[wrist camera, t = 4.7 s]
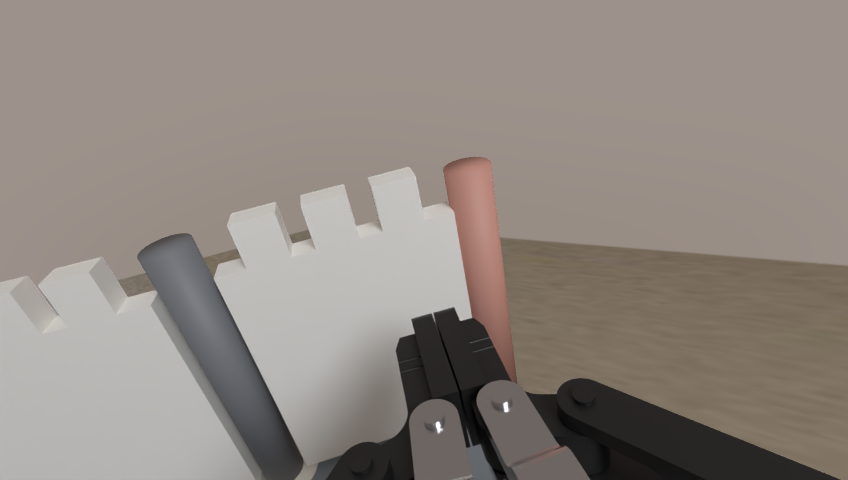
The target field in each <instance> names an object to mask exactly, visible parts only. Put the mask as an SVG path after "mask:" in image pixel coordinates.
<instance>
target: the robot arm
mask: <svg viewBox="0 0 848 480" xmlns="http://www.w3.org/2000/svg"><path fill="white" fill-rule="evenodd" d="M433 315H434V318H433ZM433 315H432V313H430V314H426V315H423V316H419V317H415V318H412V319H411V321H412V325H413V328H414V332H415V334H412V335H408V336H405V337H401V338H399V341H398V344H397V347H396V355H397V360H398V365H399V370H400V375H401V380H402V385H403V390H404V395H405V400H406V405H407V411H408V415H407V420H406V423H405V425H404V426H403V428H402V429H401V431H400V432H399V433H398V434H397V435H396V436H394V437H393V438H392V439H390V440H388V441H387V442H385V443H384V444H382V445H380V444H377V443H374V442H362V443H359V444H356V445H354V446H352V447H351V448H349V449H348V450H347V451H346V452H345V453H344V454H343V455H342V456H341V458H340V459H339V461H338V462H337V464H336V465H335V467H334V468H333V470H332V471H331V473H330V474H329V475H328V477H327V478H326V480H474V479H473V475H472V471H471V466H470V462H469V457H468V453H467V449H466V448H469V447H471V446H470V442H469V437H468V433H469V436H470V439H471V442H472V445H473V446H476V445H479V444H481V447H482V450H483V453H484V456H485V458H486V460H487V462H488V464H489V468H490V471H491V473H492V475H493V478H494V480H840V479H837V478H835V477H832V476H830V475H827V474H825V473H822V472H820V471H817V470H815V469H813V468H810V467H808V466H805V465H803V464H800V463H798V462H795V461H793V460H790V459H788V458H785V457H783V456H780V455H778V454H775V453H773V452H770V451H768V450H765V449H763V448H760V447H758V446H755V445H753V444H750V443H748V442H745V441H743V440H740V439H738V438H735V437H733V436H730V435H728V434H725V433H723V432H720V431H718V430H715V429H713V428H710V427H708V426H705V425H703V424H700V423H698V422H695V421H693V420H690V419H688V418H685V417H683V416H680V415H678V414H675V413H673V412H670V411H668V410H665V409H663V408H660V407H658V406H655V405H653V404H650V403H648V402H645V401H643V400H641V399H638V398H636V397H633V396H631V395H628V394H626V393H623V392H621V391H618V390H616V389H613V388H611V387H608V386H606V385H603V384H601V383H598V382H596V381H593V380H590V379H583V378H578V379H572V380H569V381H567V382H565V383H564V384H562V385H561V386H560V388H559V389H558V391H557V394H532V393H528V392H525V391H524V390H523V389H522V387H520V386H519V385H518V384H516V383H514V382H512V381H511V379H510V377H509V375H508V373H507V371H506V369H505V367H504V365H503V363H502V361H501V359H500V357H499V355H498V353H497V351H496V349H495V347H494V345H493V343H492V341H491V339H490V337H489V335H488V333H487V331H486V329H485V327H484V325H483V324H481V323H480V322H479V321H477V320H476V319H475V318H470V319H466V320H462V321H460V320H459V317H458V315H457V313H456V310H455V308H454V307H452V308H448V309H445V310H441V311H438V312H434V313H433ZM434 320H435V321H434ZM466 427H467V428H466ZM467 430H468V432H467Z"/></svg>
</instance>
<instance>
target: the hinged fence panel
mask: <svg viewBox="0 0 848 480" xmlns="http://www.w3.org/2000/svg"><path fill="white" fill-rule="evenodd" d="M443 172H444V177H445V183H446V189H447V195H448V200H449V204H448V203H447V202H443V203H439V204H435V205H432V206H428V207H424V208H422V205H421V200H420V196H419V191H418V186H417V181H416V176H415V174H414V173H413V172H412V170H411V169H410V167H407V168H402V169H398V170H395V171H391V172H387V173H383V174H380V175H376V176H372V177H368V181H369V185H370V189H371V193H372V197H373V200H374V204H375V208H376V212H377V216H378V219H379V220H377V221H374V222H370V223H366V224H363V225H359V226H356V223H355V220H354V217H353V213H352V210H351V206H350V203H349V200H348V196H347V193H346V190H345V186H344V184H341V185H338V186H334V187H330V188H326V189H322V190H319V191H315V192H311V193H307V194H304V195H301V209H302V212H303V214H304V217H305V220H306V223H307V226H308V229H309V231H310V234H311V237H312V239H308V240H305V241H301V242H297V243H294V244H292V242H291V239H290V237H289V234H288V231H287V229H286V226H285V223H284V221H283V218H282V215H281V213H280V210H279V208H278V205H277V202H273V203H269V204H265V205H261V206H258V207H254V208H250V209H246V210H242V211H239V212H235V213H231V216H230V219H229V221H228V224H227V227H228V229H229V231H230V233H231V235H232V238H233V240H234V242H235V245H236V247H237V249H238V251H239V253H240V256H241V258H239V259H236V260H232V261H228V262H225V263H221V264H219V265H218V268H217V271H216V274H215V277H214V280H215V282H216V284H217V286H218V288H219V290H220V292H221V294H222V296H223V298H224V300H225V302H226V304H227V306H228V308H229V310H230V312H231V314H232V316H233V318H234V320H235V322H236V324H237V326H238V328H239V330H240V332H241V334H242V336H243V338H244V340H245V342H246V344H247V346H248V348H249V351H250V353H251V355H252V357H253V359H254V361H255V363H256V365H257V367H258V369H259V371H260V373H261V375H262V377H263V379H264V381H265V383H266V385H267V387H268V389H269V391H270V393H271V395H272V397H273V399H274V401H275V403H276V405H277V407H278V409H279V411H280V413H281V415H282V417H283V419H284V421H285V423H286V425H287V427H288V429H289V431H290V433H291V435H292V437H293V439H294V441H295V443H296V445H297V447H298V449H299V451H300V453H301V455H302V457H303V459H304V461H305V463H306V465H307V466H310V465H313V464H316V463H319V462H322V461H325V460H328V459H331V458H334V457H337V456H340V455H343V454H344V453H345V452H346V451H347V450H348V449H349V448H351V447H352V446H354V445H356V444H359V443H362V442H374V443H379V442H382V441H385V440H388V439H391V438H393V437H394V436H396V435H397V434H398V433H399V432H400V431H401V429H402V428H403V426H404V425H405V423H406V420H407V415H408V411H407V405H406V400H405V395H404V390H403V385H402V380H401V375H400V370H399V365H398V360H397V355H396V347H397V344H398V341H399V338H401V337H405V336H408V335H412V334H415V332H414V328H413V325H412V321H411V319H412V318H415V317H419V316H423V315H426V314H430V313H432V315H433V313H434V312H438V311H441V310H445V309H448V308H452V307H454V308H455V310H456V313H457V315H458V317H459V320H460V321H462V320H466V319H470V318H475V319H476V320H477V321H479V322H480V323H481V324H483V325H484V327H485V329H486V331H487V333H488V335H489V337H490V339H491V341H492V343H493V345H494V347H495V349H496V351H497V353H498V355H499V357H500V359H501V361H502V363H503V365H504V367H505V369H506V371H507V373H508V375H509V377H510V379H511V381H512V382H514V383H516V384H517V378H516V370H515V361H514V353H513V345H512V336H511V328H510V319H509V311H508V303H507V294H506V286H505V277H504V269H503V261H502V252H501V244H500V235H499V227H498V219H497V211H496V202H495V193H494V185H493V177H492V168H491V162H490V160H488V159H486V158H482V157H469V158H464V159H459V160H456V161H453V162H451V163H449V164H447V165H446V166H445V167H444V169H443ZM433 318H434V315H433ZM434 321H435V320H434Z"/></svg>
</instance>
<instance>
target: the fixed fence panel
mask: <svg viewBox="0 0 848 480" xmlns="http://www.w3.org/2000/svg"><path fill="white" fill-rule="evenodd" d="M137 258H138V260H139V261H140V263H141V265H142V267H143V268H144V270H145V272H146V274H147V275H148V277H149V279H150V280H151V282H152V284H153V286H154V287H155V289H156V290H154V291H150V292H146V293H143V294H139V295H135V296H131V297H127V295H126V293H125V292H124V290H123V289H122V287H121V286H120V284H119V282H118V281H117V279H116V278H115V276H114V274H113V273H112V271H111V270H110V268H109V267H108V265H107V263H106V262H105V260H104V258H103V257H99V258H95V259H91V260H87V261H84V262H79V263H75V264H71V265H68V266H64V267H60V268H56V269H54V270H53V271H52V272H51V273H50V274H49V275H48V276H47V277H46V278H45V279H44V280H43V281H42V282H41V283H40V284H39V285H38V286H39V288H40V289H41V290H42V292H43V293H44V294H45V296H46V297H47V298H48V300H49V301H50V303H51V304H52V305H53V307H54V308H55V309H56V311H57V312H58V313H59V316H57V314H56V313H55V312H54V310H53V309H52V308H51V306H50V305H49V304H48V302H47V301H46V300H45V298H44V297H43V296H42V294H41V293H40V292H39V290H38V289H37V287H36V286H35V285H34V283H33V282H32V281H31V279H30V278H29V277H28V276H24V277H21V278H16V279H13V280H8V281H4V282H0V480H260V478H261V471H262V472H263V474H264V476H265V478H266V479H267V480H294V479H295V478H296V477H297V476H298V475H299V474H300V472H301V470H302V468H303V463H304V461H303V457H302V455H301V453H300V451H299V449H298V447H297V445H296V443H295V441H294V439H293V437H292V435H291V433H290V431H289V429H288V427H287V425H286V423H285V421H284V419H283V417H282V415H281V413H280V411H279V409H278V407H277V405H276V403H275V401H274V399H273V397H272V395H271V393H270V391H269V389H268V387H267V385H266V383H265V381H264V379H263V377H262V375H261V373H260V371H259V369H258V367H257V365H256V363H255V361H254V359H253V357H252V355H251V353H250V351H249V349H248V347H247V345H246V343H245V341H244V339H243V337H242V335H241V333H240V331H239V329H238V327H237V325H236V323H235V321H234V319H233V317H232V315H231V313H230V311H229V309H228V307H227V305H226V303H225V301H224V299H223V297H222V295H221V293H220V291H219V289H218V287H217V285H216V283H215V281H214V279H213V277H212V275H211V273H210V271H209V269H208V267H207V265H206V263H205V261H204V259H203V257H202V255H201V253H200V251H199V249H198V247H197V245H196V243H195V241H194V239H193V237H192V235H190V234H186V233H184V234H176V235H171V236H168V237H165V238H162V239H160V240H158V241H155V242H153V243H152V244H150V245H148V246H146V247H145V248H144V249H142V250H141V251H140V252H139V254H138V257H137Z"/></svg>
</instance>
